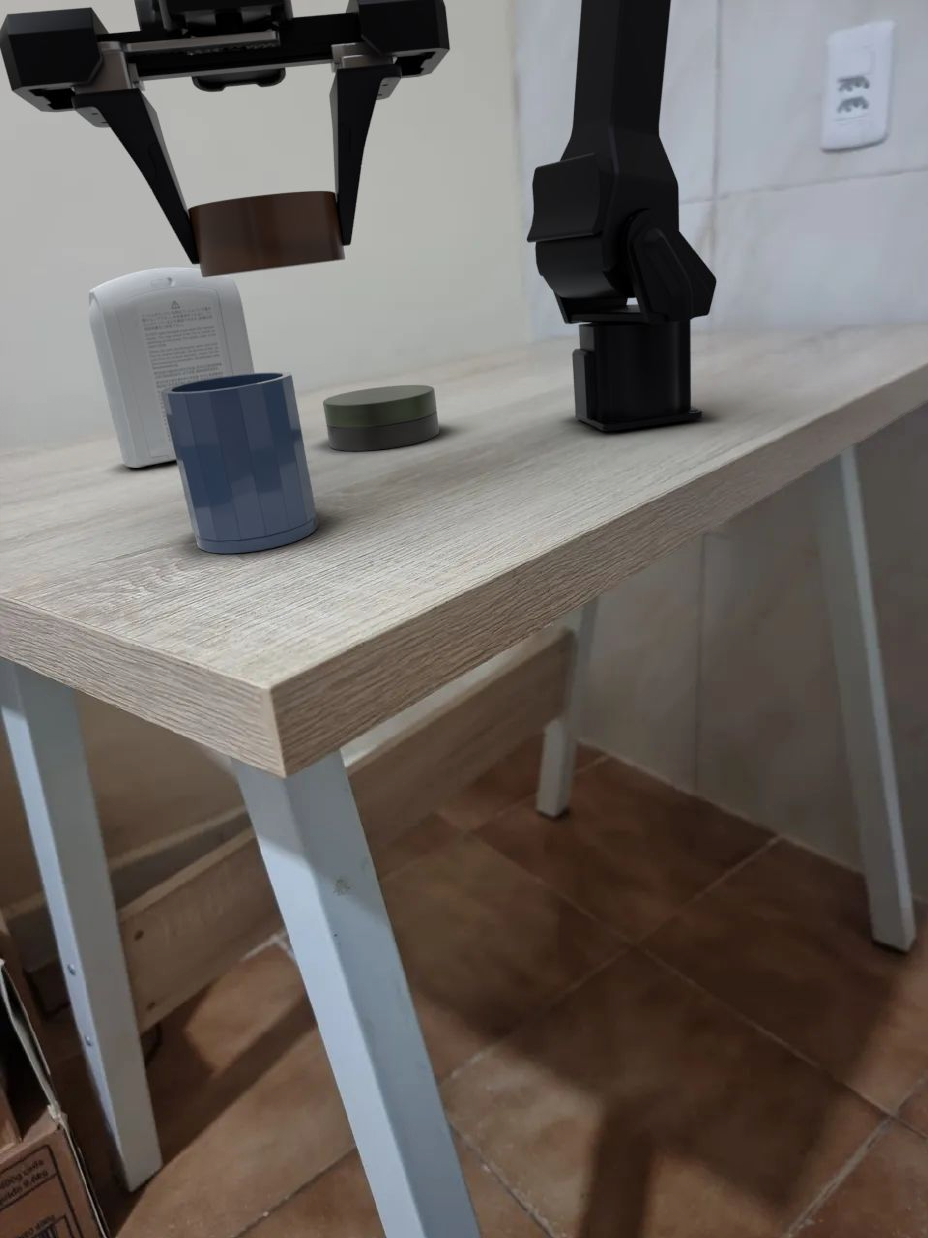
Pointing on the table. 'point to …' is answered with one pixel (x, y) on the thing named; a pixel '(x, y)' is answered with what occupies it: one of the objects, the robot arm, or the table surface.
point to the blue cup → (242, 461)
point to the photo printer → (163, 348)
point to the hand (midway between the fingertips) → (272, 254)
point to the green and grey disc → (381, 417)
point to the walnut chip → (267, 232)
